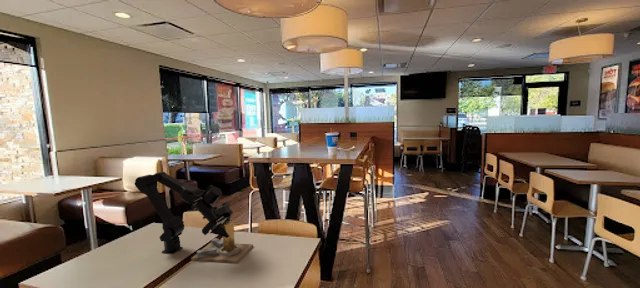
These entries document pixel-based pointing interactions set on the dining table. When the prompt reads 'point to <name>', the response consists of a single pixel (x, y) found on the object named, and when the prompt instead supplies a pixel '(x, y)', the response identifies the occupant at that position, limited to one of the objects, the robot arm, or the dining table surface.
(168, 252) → the robot arm
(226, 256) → the shaft board
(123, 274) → the dining table surface
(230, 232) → the brass sleeve
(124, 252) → the dining table surface
